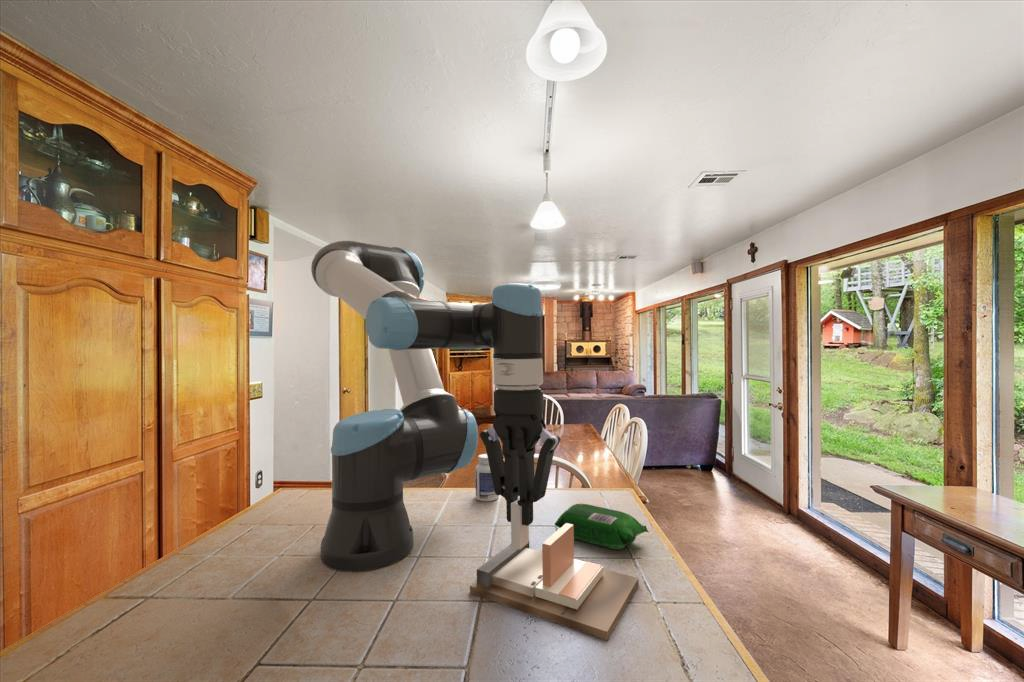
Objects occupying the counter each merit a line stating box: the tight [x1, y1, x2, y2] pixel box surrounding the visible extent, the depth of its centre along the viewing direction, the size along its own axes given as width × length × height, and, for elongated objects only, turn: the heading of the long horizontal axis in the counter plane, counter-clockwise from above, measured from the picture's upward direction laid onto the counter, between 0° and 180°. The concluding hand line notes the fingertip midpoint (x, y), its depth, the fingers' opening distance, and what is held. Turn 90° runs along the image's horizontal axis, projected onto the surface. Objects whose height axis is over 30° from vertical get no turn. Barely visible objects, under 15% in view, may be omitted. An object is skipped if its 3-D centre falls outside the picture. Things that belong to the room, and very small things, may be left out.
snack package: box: [554, 503, 650, 550], centre depth 79 cm, size 7×16×5 cm, turn 53°
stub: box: [535, 523, 604, 609], centre depth 62 cm, size 6×10×7 cm, turn 149°
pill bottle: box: [474, 453, 500, 502], centre depth 101 cm, size 5×5×10 cm
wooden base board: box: [469, 542, 640, 641], centre depth 63 cm, size 20×14×3 cm
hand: (520, 544), depth 66 cm, fingers closed
